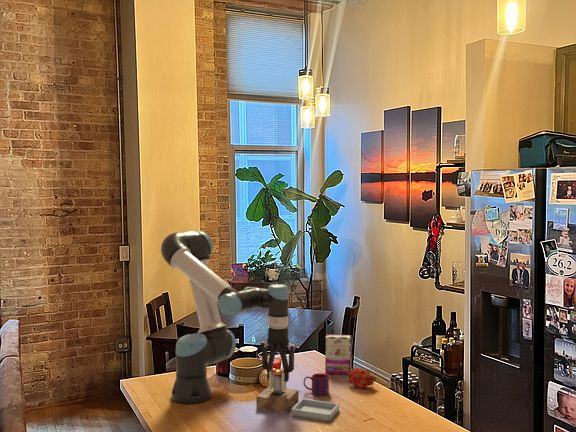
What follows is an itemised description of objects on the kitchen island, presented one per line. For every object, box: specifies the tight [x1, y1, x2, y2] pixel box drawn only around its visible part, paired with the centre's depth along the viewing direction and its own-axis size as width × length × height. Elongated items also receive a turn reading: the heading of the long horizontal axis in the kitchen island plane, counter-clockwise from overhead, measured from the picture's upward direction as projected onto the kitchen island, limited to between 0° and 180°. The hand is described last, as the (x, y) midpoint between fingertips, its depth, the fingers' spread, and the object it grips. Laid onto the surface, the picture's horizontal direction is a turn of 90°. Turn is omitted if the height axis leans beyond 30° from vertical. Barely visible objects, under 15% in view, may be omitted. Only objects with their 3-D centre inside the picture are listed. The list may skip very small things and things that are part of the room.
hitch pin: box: [272, 368, 284, 396], centre depth 214 cm, size 4×4×13 cm
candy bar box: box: [324, 334, 352, 376], centre depth 252 cm, size 11×5×16 cm, turn 81°
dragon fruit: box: [346, 367, 377, 390], centre depth 234 cm, size 8×8×12 cm
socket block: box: [255, 386, 300, 414], centre depth 215 cm, size 12×12×4 cm
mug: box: [303, 373, 330, 397], centre depth 228 cm, size 7×10×7 cm
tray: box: [290, 398, 340, 423], centre depth 207 cm, size 14×11×2 cm
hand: (277, 388), depth 214 cm, fingers closed on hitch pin, 4 cm apart
